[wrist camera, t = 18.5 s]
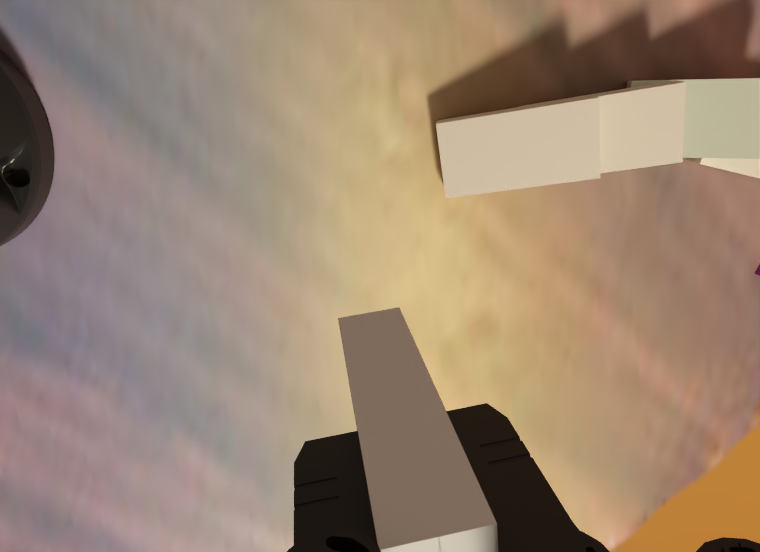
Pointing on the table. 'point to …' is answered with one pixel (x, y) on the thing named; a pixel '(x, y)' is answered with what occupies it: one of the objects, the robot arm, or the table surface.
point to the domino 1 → (520, 147)
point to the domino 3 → (719, 117)
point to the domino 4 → (732, 165)
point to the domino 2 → (641, 126)
